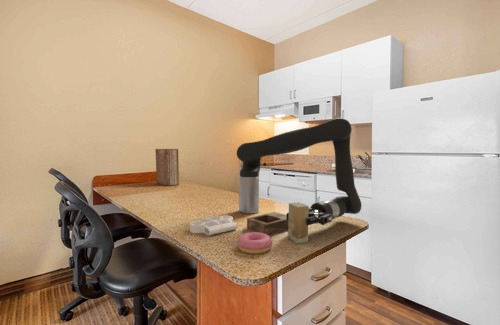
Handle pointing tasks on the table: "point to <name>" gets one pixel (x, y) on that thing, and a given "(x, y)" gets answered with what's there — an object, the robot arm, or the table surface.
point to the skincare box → (298, 222)
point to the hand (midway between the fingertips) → (296, 219)
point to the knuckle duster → (213, 225)
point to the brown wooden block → (167, 166)
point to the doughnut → (254, 242)
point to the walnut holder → (268, 223)
